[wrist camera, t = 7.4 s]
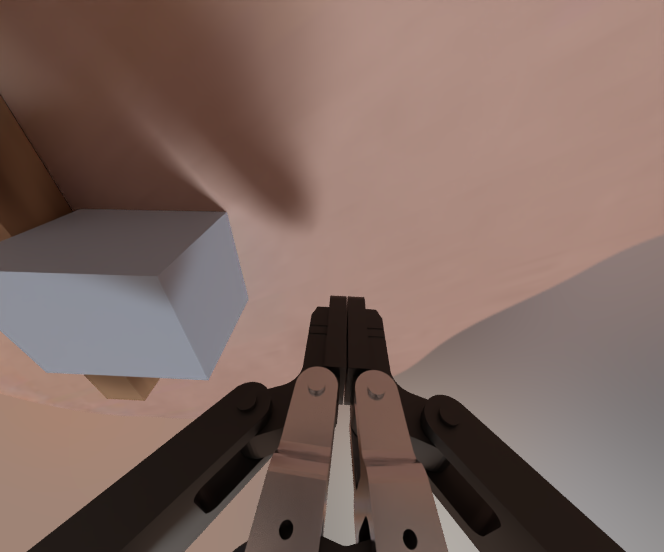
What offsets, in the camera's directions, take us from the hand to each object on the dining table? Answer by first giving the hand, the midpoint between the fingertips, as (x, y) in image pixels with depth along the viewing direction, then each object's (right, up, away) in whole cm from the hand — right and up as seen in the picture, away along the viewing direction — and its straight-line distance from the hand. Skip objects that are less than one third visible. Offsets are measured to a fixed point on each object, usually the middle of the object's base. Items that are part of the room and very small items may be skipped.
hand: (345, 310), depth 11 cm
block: (-10, +3, +4) cm, 11 cm away
